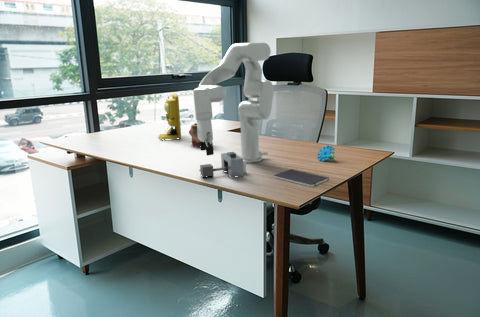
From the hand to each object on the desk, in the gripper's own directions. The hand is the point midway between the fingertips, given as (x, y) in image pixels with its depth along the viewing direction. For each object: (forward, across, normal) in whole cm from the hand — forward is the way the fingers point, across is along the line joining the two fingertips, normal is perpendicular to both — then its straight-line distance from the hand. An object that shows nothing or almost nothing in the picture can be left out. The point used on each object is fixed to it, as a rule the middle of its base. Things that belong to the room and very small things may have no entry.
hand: (207, 152), depth 180 cm
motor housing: (+12, +1, +11) cm, 17 cm away
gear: (+14, +1, +63) cm, 65 cm away
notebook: (+13, +22, +36) cm, 44 cm away
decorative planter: (+14, -65, +14) cm, 68 cm away
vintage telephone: (+14, -102, 0) cm, 103 cm away
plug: (+11, +1, +7) cm, 13 cm away
